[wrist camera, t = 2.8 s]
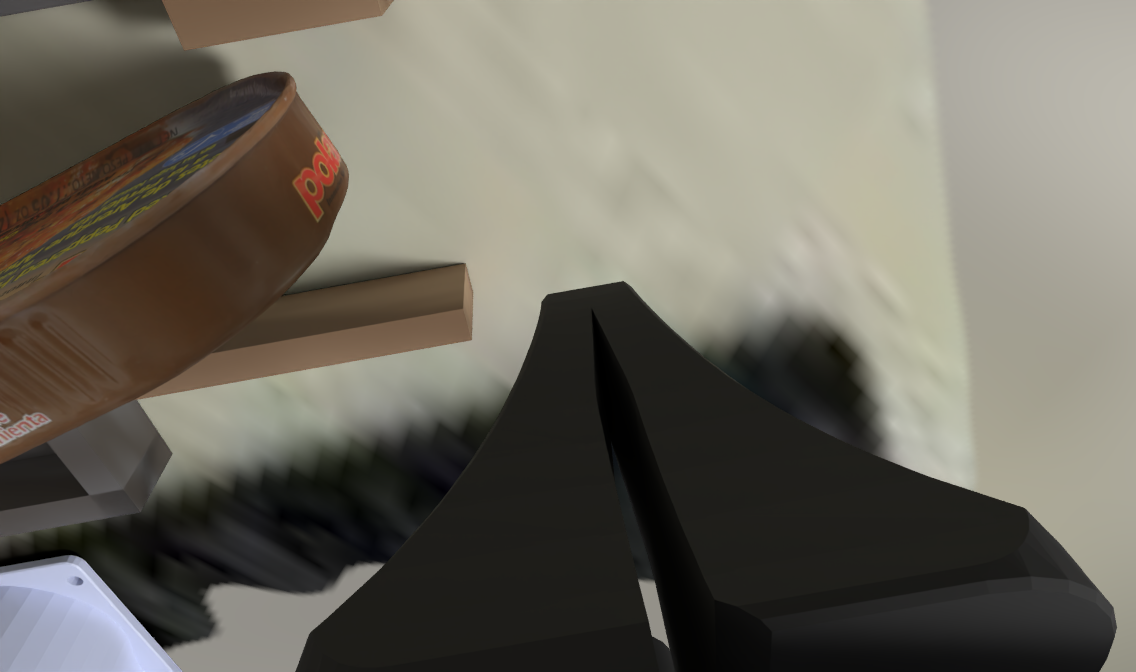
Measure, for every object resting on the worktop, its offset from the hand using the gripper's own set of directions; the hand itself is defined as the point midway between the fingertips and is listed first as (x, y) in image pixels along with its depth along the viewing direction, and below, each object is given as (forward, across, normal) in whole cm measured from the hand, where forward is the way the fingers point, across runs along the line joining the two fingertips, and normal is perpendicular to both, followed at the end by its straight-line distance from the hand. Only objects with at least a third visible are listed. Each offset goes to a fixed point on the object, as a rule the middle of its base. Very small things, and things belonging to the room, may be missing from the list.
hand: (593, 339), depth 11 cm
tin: (+9, +12, 0) cm, 15 cm away
